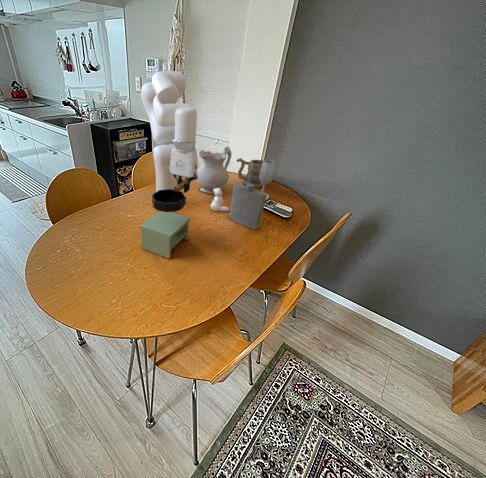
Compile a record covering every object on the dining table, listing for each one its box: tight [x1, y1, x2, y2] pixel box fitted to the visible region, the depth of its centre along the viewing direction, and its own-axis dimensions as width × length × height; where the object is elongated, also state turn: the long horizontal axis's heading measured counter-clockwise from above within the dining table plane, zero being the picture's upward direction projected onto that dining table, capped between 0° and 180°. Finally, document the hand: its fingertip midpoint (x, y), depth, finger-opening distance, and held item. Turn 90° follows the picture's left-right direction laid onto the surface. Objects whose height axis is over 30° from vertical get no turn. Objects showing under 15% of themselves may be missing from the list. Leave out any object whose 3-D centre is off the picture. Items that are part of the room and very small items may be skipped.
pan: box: [151, 179, 187, 213], centre depth 100 cm, size 12×22×5 cm, turn 150°
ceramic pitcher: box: [195, 146, 232, 195], centre depth 151 cm, size 22×20×25 cm
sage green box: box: [139, 210, 191, 259], centre depth 107 cm, size 14×16×11 cm
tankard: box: [235, 157, 264, 189], centre depth 163 cm, size 20×13×15 cm, turn 66°
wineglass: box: [259, 159, 276, 201], centre depth 143 cm, size 9×9×21 cm
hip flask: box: [228, 183, 268, 231], centre depth 119 cm, size 16×4×20 cm, turn 47°
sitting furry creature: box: [210, 188, 230, 213], centre depth 133 cm, size 10×9×12 cm
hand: (183, 190), depth 106 cm, fingers closed on pan
